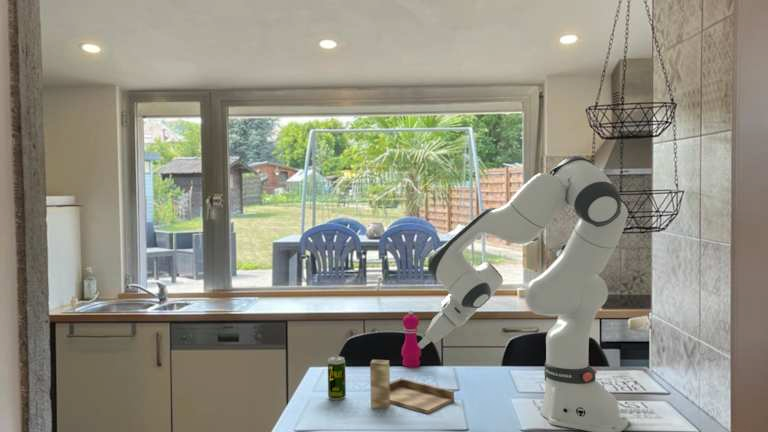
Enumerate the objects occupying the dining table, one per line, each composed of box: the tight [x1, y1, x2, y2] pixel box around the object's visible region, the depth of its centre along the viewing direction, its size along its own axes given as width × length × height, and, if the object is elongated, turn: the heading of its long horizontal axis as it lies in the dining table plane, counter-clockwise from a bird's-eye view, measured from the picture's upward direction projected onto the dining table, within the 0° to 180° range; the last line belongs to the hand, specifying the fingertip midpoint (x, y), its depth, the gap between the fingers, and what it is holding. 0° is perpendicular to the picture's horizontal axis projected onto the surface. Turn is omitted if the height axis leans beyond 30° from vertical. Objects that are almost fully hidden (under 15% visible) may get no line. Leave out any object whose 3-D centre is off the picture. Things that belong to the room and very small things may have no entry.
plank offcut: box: [369, 359, 391, 409], centre depth 163 cm, size 5×4×13 cm
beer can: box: [327, 356, 347, 401], centre depth 171 cm, size 5×5×12 cm
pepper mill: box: [400, 310, 422, 368], centre depth 205 cm, size 7×7×20 cm
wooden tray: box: [390, 377, 455, 415], centre depth 168 cm, size 20×13×3 cm, turn 49°
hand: (421, 342), depth 161 cm, fingers open, 8 cm apart
